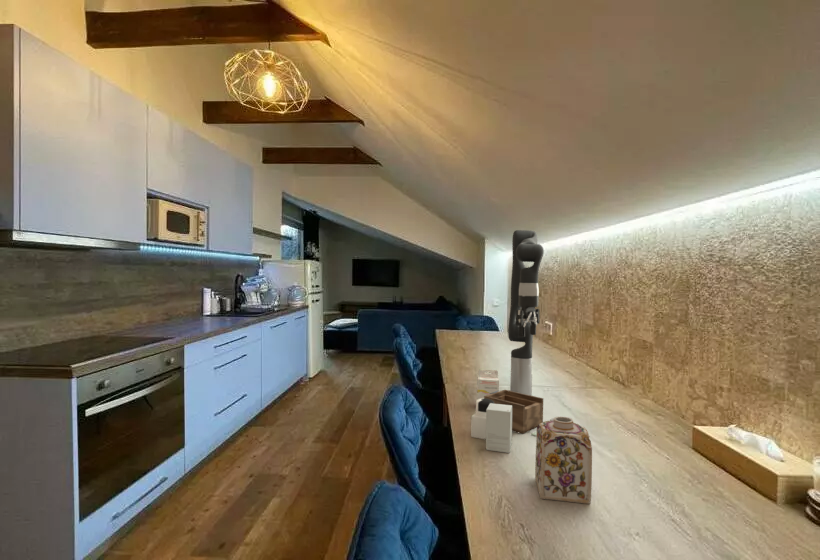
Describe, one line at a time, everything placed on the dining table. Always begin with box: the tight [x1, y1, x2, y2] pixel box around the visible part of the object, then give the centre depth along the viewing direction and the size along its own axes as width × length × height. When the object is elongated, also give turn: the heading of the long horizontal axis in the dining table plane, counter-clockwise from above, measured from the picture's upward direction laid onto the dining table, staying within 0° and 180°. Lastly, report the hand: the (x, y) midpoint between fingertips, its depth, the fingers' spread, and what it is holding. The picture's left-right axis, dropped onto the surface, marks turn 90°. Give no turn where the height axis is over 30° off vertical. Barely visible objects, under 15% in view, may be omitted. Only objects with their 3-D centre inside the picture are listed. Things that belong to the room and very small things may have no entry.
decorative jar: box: [534, 416, 593, 505], centre depth 109 cm, size 12×12×18 cm
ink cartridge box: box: [476, 369, 500, 400], centre depth 178 cm, size 9×5×15 cm, turn 84°
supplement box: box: [485, 403, 513, 454], centre depth 135 cm, size 7×7×13 cm
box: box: [484, 389, 544, 435], centre depth 158 cm, size 14×16×10 cm
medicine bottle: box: [470, 398, 494, 440], centre depth 145 cm, size 7×7×12 cm
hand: (527, 335), depth 172 cm, fingers open, 8 cm apart
